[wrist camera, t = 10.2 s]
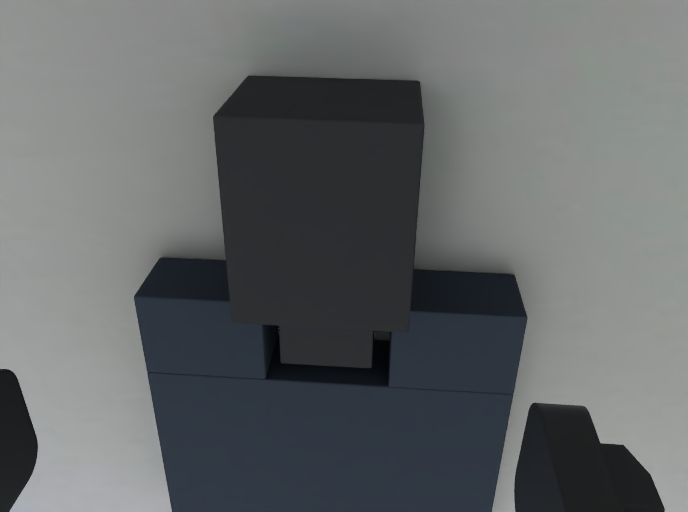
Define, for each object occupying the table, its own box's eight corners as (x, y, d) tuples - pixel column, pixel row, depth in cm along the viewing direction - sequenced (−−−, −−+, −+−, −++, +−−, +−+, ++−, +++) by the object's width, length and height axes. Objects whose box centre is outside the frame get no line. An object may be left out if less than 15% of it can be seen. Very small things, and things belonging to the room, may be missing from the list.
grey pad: (159, 257, 22) (132, 296, 20) (514, 274, 21) (528, 317, 19) (195, 497, 28) (178, 548, 26) (474, 517, 27) (481, 572, 25)
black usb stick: (247, 75, 19) (212, 115, 15) (420, 80, 18) (424, 123, 15) (262, 323, 23) (238, 399, 19) (402, 330, 23) (402, 409, 19)
